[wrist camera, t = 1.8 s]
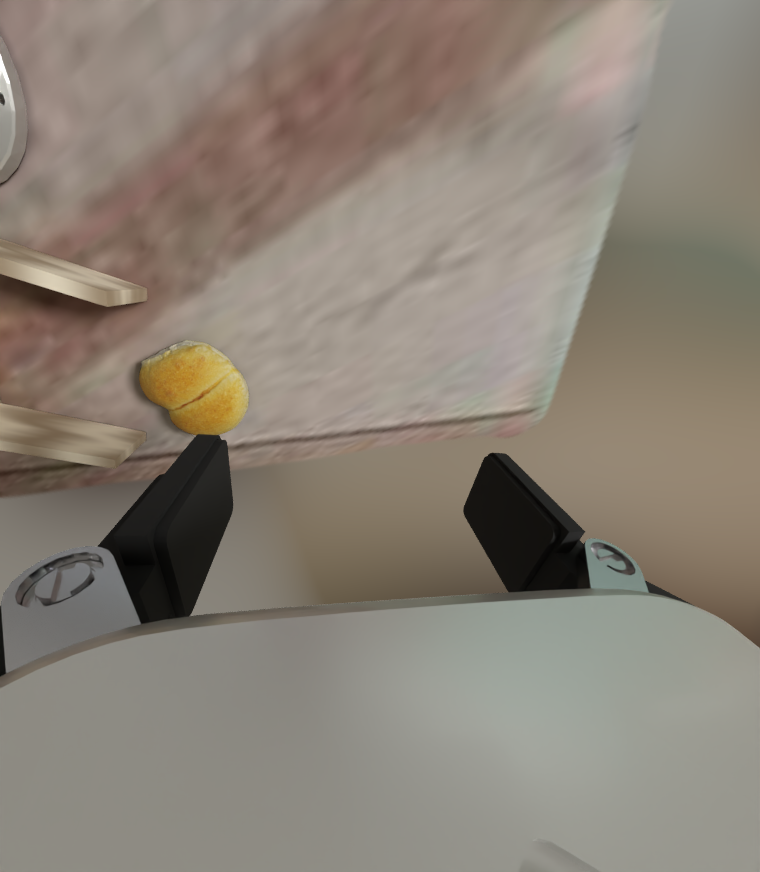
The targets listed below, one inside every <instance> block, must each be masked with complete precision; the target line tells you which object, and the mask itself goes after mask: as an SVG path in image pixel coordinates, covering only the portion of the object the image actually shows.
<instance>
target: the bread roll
mask: <svg viewBox="0 0 760 872" xmlns="http://www.w3.org/2000/svg"><path fill="white" fill-rule="evenodd" d="M141 363H142V367H141V370H140V374H139V381H140V385H141V388H142V390H143V392H144V393H145V395H146V396H147V398H148V399H150V400H151V401H153V402H154V403H156V404H158V405H160V406H162V407H165V408H166V409H168V410H169V413H170V414H169V415H170V418H171V421H172V422H173V423H174V424H175V425H176V426H177V427H178V428H180V429H181V430H183V431H185V432H187V433H190V434H193V435H198V434H207V435H218V434H222V433H225V432H228V431H230V430H232V429H233V428H235V427H236V426H237V425H238V424H239V423H240V421H241V420H242V418H243V417H244V415H245V413H246V410H247V408H248V403H249V392H248V387H247V384H246V382H245V380H244V378H243V376H242V374H241V373H240V372H239V371H238V370H237V369H236V368H235V367H234V365H233V364H232V362H231V361H230V360H229V359H228V358H227V357H226V356H225V355H224V354H223V353H222V352H220V351H219V350H217V349H216V348H214V347H212V346H210V345H208V344H206V343H203V342H198V341H189V340H186V341H182V342H180V343H177V344H175V345H172V346H170V347H168V348H166V349H164V350H161V351H160V352H158V353H157V354H156V355H153V356H151V357H149V358H148V359H146V360H143V361H141Z"/></svg>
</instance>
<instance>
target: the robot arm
mask: <svg viewBox="0 0 760 872" xmlns="http://www.w3.org/2000/svg"><path fill="white" fill-rule="evenodd" d="M27 134H28V123H27V111H26V103H25V99H24V96H23V92H22V88H21V84H20V80H19V76H18V74H17V71H16V69H15V67H14V64H13V62H12V59H11V57H10V54H9V52H8V49H7V47H6V45H5V43H4V41H3V39H2V37H1V35H0V183H2V182H4V181H6V180H7V179H8V178H9V177H10V176H11V175H12V174H13V173H14V171H15V170H16V169H17V168H18V167H19V164H20V162H21V160H22V157H23V155H24V153H25V149H26V142H27ZM232 511H233V497H232V488H231V477H230V467H229V457H228V447H227V442H226V440H221V438H220V436H219V435H207V434H198V435H197V436H196V437H195V438H194V439H193V440H192V442H191V443H190V444H189V445H188V446H187V448H186V449H185V450H184V451H183V452H182V454H181V455H180V456H179V457H178V458H177V460H176V461H175V462H174V463H173V464H172V466H171V467H170V468H169V469H168V471H167V472H166V473H165V474H162V475H159V476H158V477H157V478H156V479H155V480H154V481H153V482H152V483H151V484H150V486H149V487H148V488H147V489H146V490H145V492H144V493H143V494H142V495H141V496H140V497H139V499H138V500H137V501H136V502H135V503H134V505H133V506H132V507H131V508H130V509H129V510H128V511H127V513H126V514H125V515H124V516H123V517H122V519H121V520H120V521H119V522H118V523H117V525H115V527H114V528H113V529H112V530H111V531H110V533H109V534H108V535H107V536H106V537H105V538H104V540H103V541H102V542H101V543H100V544H99V545H98V547H92V546H86V547H80V548H73V549H69V550H66V551H63V552H60V553H57V554H54V555H53V556H50V557H48V558H46V559H44V560H41V561H40V562H38V563H36V564H35V565H33V566H32V567H30V568H28V569H27V570H25V571H24V572H23V573H22V574H20V576H18V577H17V578H16V579H15V580H14V581H12V583H11V584H10V585H9V587H8V588H7V589H6V591H5V592H4V594H3V597H2V602H1V606H0V872H760V648H759V647H757V646H756V645H755V644H754V643H752V642H751V641H750V640H749V639H747V638H746V637H745V636H744V635H742V634H741V633H740V632H739V631H737V630H736V629H735V628H733V627H732V626H731V625H729V624H728V623H726V622H725V621H723V620H722V619H720V618H718V617H717V616H715V615H713V614H711V613H709V612H707V611H704V610H702V609H700V608H698V607H696V606H694V605H692V604H690V603H688V602H686V601H684V600H682V599H680V598H678V597H676V596H674V595H672V594H670V593H668V592H666V591H665V590H662V589H661V588H659V587H657V586H655V585H653V584H651V583H649V582H647V581H645V580H644V577H643V574H642V571H641V570H640V568H639V566H638V564H637V563H636V562H635V561H634V560H633V559H632V558H631V557H630V556H629V555H628V554H627V553H625V552H624V551H622V550H621V549H619V548H618V547H616V546H615V545H613V544H611V543H609V542H606V541H603V540H600V539H595V538H592V539H588V540H587V541H585V543H584V544H583V543H582V542H581V541H580V538H581V537H582V535H583V534H584V532H585V531H584V530H583V529H582V528H581V527H580V526H579V525H578V524H577V523H576V522H575V521H574V520H573V519H572V518H571V517H570V516H569V515H568V514H567V513H566V512H565V511H564V510H563V509H562V508H561V507H560V506H558V505H557V503H556V502H555V501H554V500H553V499H551V497H550V496H549V495H547V494H546V493H545V492H544V491H543V490H542V489H541V488H540V487H539V486H538V485H537V484H536V483H535V482H534V481H533V480H532V479H531V478H530V477H529V476H528V475H527V474H526V473H525V472H524V471H523V470H522V469H521V468H520V467H519V466H518V465H517V464H516V463H515V462H514V461H513V460H512V459H511V458H510V457H509V456H508V455H507V454H502V453H490V454H489V455H488V456H487V457H485V458H484V460H483V462H482V464H481V467H480V469H479V472H478V474H477V477H476V479H475V481H474V484H473V487H472V489H471V491H470V493H469V496H468V498H467V501H466V503H465V505H464V515H465V517H466V519H467V521H468V523H469V524H470V526H471V528H472V529H473V531H474V533H475V535H476V537H477V538H478V540H479V542H480V543H481V545H482V547H483V549H484V550H485V552H486V554H487V556H488V557H489V559H490V560H491V562H492V564H493V566H494V568H495V570H496V571H497V573H498V575H499V577H500V578H501V580H502V582H503V584H504V585H505V587H506V589H507V590H508V592H509V593H493V594H477V595H462V596H461V595H460V596H446V597H431V598H430V597H429V598H414V599H399V600H384V601H369V602H355V603H341V604H328V605H313V606H299V607H284V608H272V609H260V610H249V611H238V612H226V613H216V614H204V615H197V616H190V614H191V613H192V611H193V608H194V606H195V604H196V601H197V599H198V596H199V594H200V591H201V589H202V586H203V584H204V581H205V579H206V576H207V574H208V571H209V569H210V567H211V564H212V562H213V559H214V556H215V554H216V552H217V549H218V547H219V544H220V541H221V539H222V537H223V534H224V532H225V529H226V527H227V524H228V522H229V520H230V517H231V514H232Z"/></svg>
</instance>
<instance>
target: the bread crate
mask: <svg viewBox="0 0 760 872" xmlns="http://www.w3.org/2000/svg"><path fill="white" fill-rule="evenodd" d="M0 274H2V275H6V276H9V277H12V278H15V279H19V280H22V281H25V282H28V283H32V284H35V285H38V286H41V287H45V288H48V289H51V290H54V291H57V292H61V293H64V294H67V295H70V296H74V297H77V298H80V299H83V300H87V301H90V302H93V303H96V304H99V305H103V306H106V307H110V306H117V305H123V304H130V303H137V302H144V301H147V288H145V287H142V286H139V285H136V284H133V283H130V282H127V281H124V280H121V279H118V278H115V277H112V276H109V275H106V274H103V273H101V272H98V271H95V270H92V269H89V268H86V267H83V266H80V265H77V264H74V263H71V262H68V261H65V260H62V259H59V258H56V257H53V256H50V255H48V254H45V253H42V252H39V251H36V250H33V249H30V248H27V247H24V246H21V245H18V244H15V243H12V242H9V241H6V240H3V239H0ZM145 441H146V432H143V431H138V430H133V429H128V428H123V427H118V426H113V425H108V424H103V423H98V422H93V421H88V420H83V419H78V418H73V417H68V416H63V415H58V414H52V413H47V412H42V411H37V410H32V409H27V408H22V407H17V406H12V405H7V404H2V403H1V400H0V450H1V451H7V452H13V453H20V454H26V455H32V456H38V457H45V458H51V459H57V460H64V461H70V462H76V463H82V464H89V465H95V466H101V467H107V468H114V469H116V468H117V467H118V466H119V465H120V464H121V463H122V462H123V461H124V460H125V459H126V458H127V457H128V456H130V455H131V454H132V453H133V452H134V451H135V450H136V449H137V448H138V447H139V446H140V445H141V444H143V443H144V442H145Z"/></svg>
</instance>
